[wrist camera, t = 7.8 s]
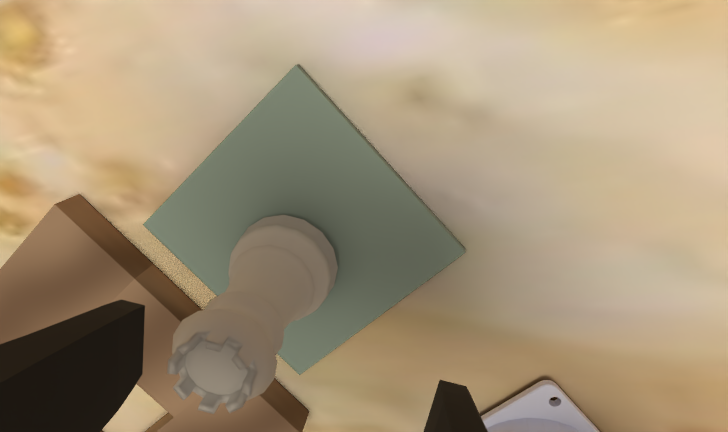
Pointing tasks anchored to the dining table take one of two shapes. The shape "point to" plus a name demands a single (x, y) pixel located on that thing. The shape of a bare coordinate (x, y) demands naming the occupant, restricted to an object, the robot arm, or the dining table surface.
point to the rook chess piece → (252, 312)
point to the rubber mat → (308, 212)
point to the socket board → (112, 283)
